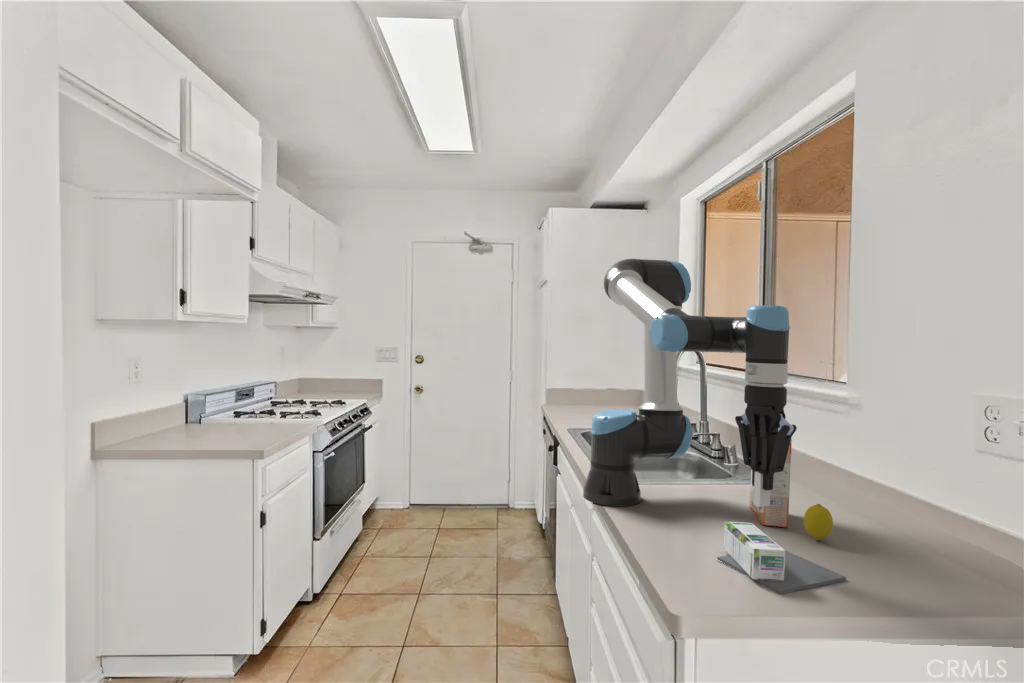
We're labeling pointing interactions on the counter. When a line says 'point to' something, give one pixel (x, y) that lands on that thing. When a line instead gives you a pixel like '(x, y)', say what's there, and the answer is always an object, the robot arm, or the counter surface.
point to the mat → (794, 574)
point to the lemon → (818, 522)
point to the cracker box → (775, 498)
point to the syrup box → (754, 551)
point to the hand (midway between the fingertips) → (761, 504)
